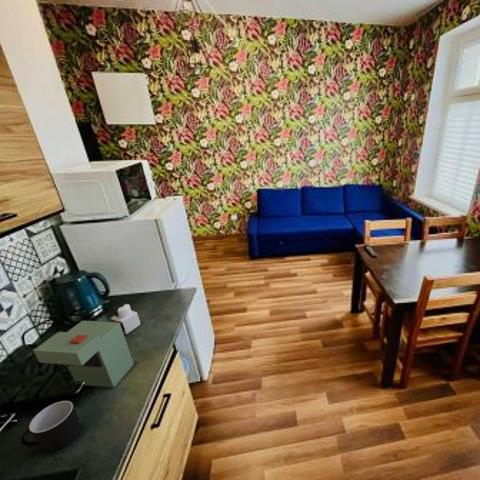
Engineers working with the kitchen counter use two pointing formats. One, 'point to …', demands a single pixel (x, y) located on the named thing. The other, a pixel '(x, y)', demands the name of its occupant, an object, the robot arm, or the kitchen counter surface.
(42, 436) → the mug
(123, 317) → the medicine bottle
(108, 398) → the kitchen counter surface
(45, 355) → the coffee machine
